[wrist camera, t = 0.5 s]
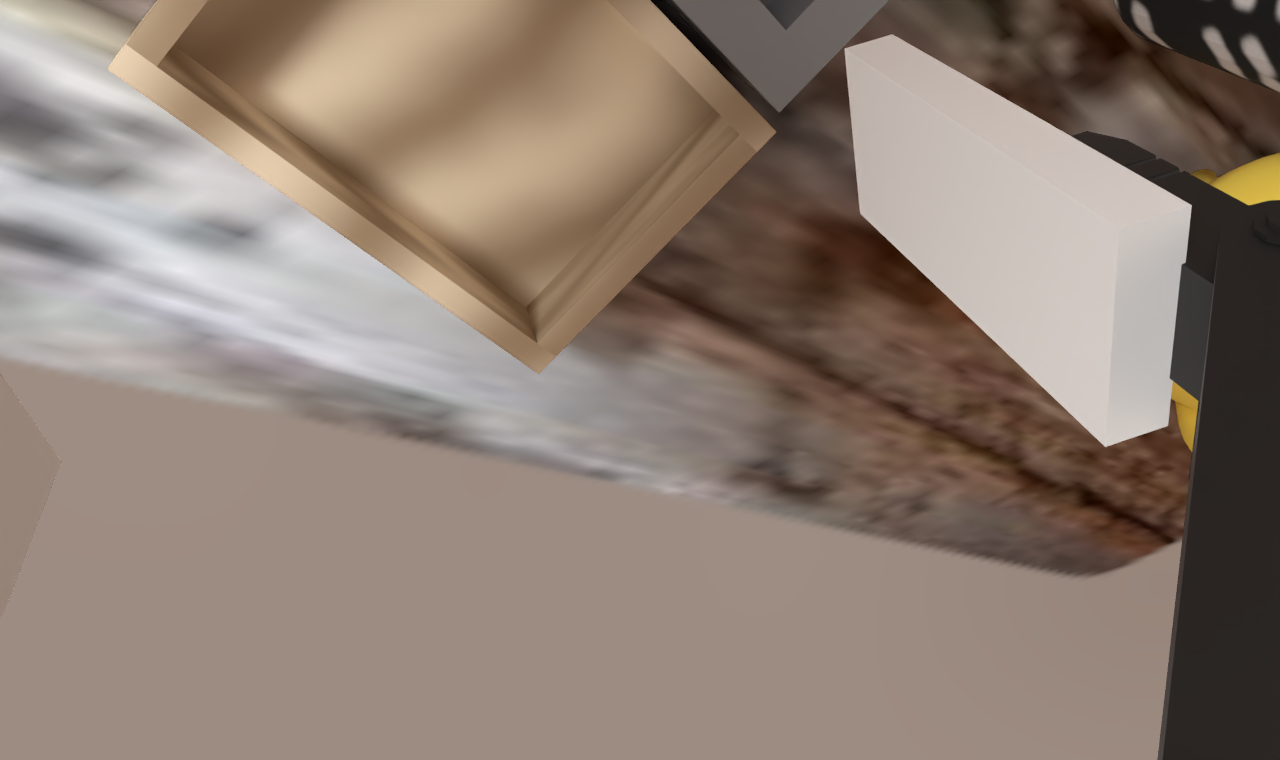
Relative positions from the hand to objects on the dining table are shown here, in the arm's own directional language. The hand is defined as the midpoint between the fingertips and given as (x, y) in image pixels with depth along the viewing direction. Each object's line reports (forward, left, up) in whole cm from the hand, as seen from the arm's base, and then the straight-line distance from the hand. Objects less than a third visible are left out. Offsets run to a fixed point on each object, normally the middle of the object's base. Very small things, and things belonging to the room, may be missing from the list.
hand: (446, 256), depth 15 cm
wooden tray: (+4, -1, -24) cm, 25 cm away
